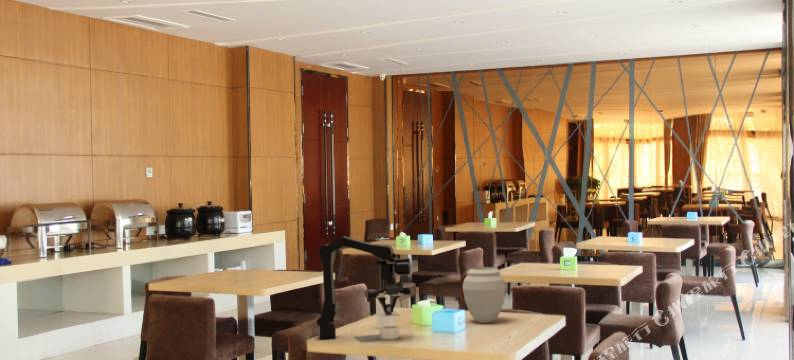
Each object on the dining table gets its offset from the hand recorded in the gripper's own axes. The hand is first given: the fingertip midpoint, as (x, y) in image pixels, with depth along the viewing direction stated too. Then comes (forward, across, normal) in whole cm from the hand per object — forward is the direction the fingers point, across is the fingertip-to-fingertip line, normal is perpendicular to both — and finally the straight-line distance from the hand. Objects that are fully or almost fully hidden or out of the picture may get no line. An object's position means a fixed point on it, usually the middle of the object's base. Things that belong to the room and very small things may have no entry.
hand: (388, 312), depth 336 cm
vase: (+11, +52, +16) cm, 55 cm away
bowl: (+10, 0, 0) cm, 10 cm away
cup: (+11, +6, +24) cm, 27 cm away
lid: (+1, 0, 0) cm, 1 cm away
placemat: (+11, -4, +3) cm, 12 cm away
